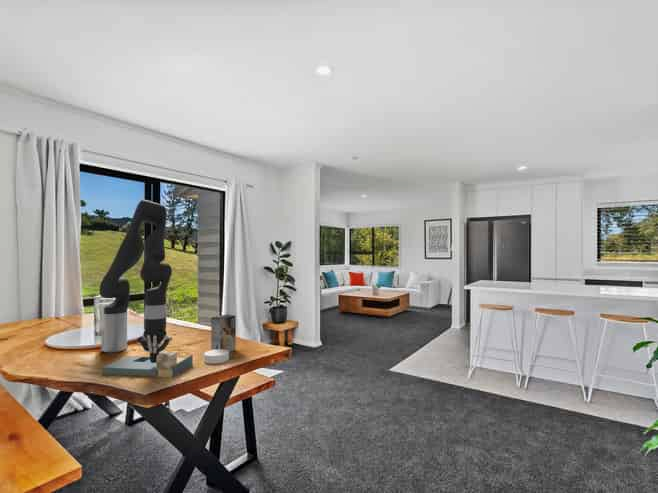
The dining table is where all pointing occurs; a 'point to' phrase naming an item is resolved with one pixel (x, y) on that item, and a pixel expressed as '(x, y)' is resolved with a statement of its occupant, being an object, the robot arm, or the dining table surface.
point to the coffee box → (223, 332)
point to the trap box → (145, 367)
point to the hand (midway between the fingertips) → (154, 362)
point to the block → (166, 360)
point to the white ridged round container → (216, 356)
